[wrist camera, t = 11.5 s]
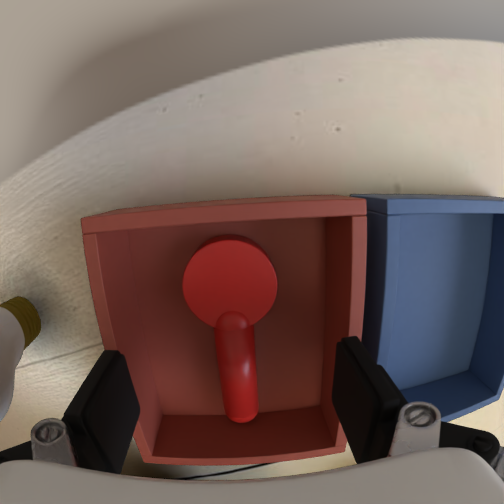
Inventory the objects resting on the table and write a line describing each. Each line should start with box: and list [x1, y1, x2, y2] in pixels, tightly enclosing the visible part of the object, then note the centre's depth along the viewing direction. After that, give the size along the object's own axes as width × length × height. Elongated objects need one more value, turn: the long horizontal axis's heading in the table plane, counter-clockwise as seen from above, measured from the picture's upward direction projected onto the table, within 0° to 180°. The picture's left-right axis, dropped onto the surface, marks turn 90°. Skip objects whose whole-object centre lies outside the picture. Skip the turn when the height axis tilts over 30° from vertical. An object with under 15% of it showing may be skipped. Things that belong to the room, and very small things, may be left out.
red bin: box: [81, 195, 367, 465], centre depth 13 cm, size 12×10×4 cm
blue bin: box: [350, 194, 504, 422], centre depth 14 cm, size 12×10×4 cm
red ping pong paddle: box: [182, 234, 278, 423], centre depth 14 cm, size 10×4×2 cm, turn 3°
